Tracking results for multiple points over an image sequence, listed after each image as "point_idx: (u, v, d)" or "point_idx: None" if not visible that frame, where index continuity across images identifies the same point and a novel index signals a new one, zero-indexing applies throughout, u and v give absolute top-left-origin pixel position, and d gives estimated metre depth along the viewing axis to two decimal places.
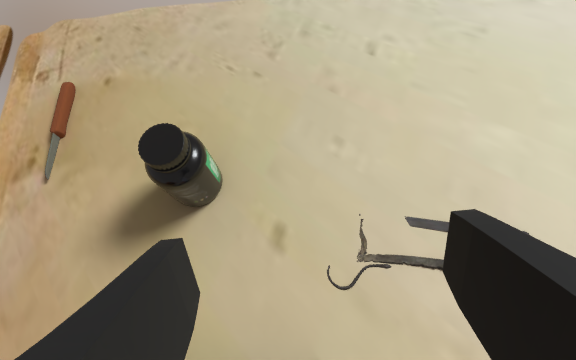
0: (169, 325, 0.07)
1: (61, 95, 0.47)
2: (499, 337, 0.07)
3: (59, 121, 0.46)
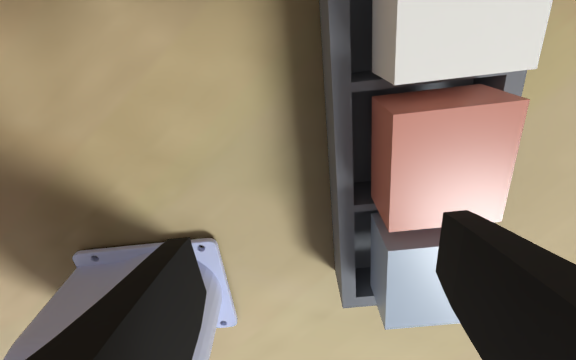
0: (177, 324, 0.07)
1: None
2: (490, 338, 0.07)
3: None
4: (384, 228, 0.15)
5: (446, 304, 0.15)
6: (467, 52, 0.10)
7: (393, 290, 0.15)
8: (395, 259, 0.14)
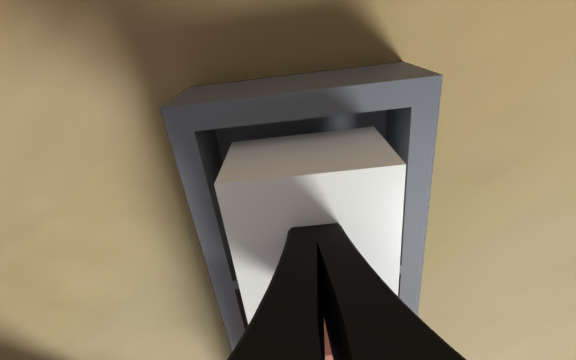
0: (321, 312, 0.07)
1: None
2: (334, 351, 0.07)
3: None
4: None
5: None
6: None
7: None
8: None
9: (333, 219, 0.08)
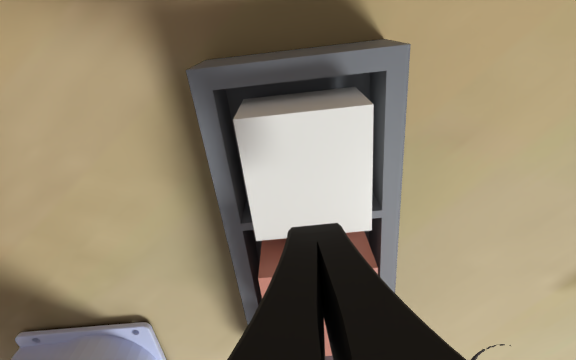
0: (321, 312, 0.07)
1: None
2: (334, 351, 0.07)
3: None
4: None
5: None
6: (311, 220, 0.12)
7: None
8: None
9: (321, 148, 0.11)
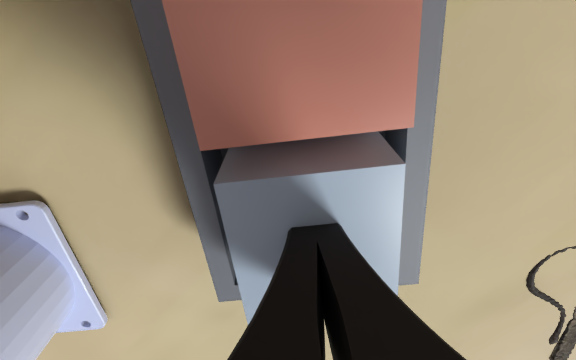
0: (321, 312, 0.07)
1: None
2: (334, 350, 0.07)
3: None
4: (234, 156, 0.09)
5: None
6: None
7: (243, 258, 0.09)
8: (231, 200, 0.08)
9: None
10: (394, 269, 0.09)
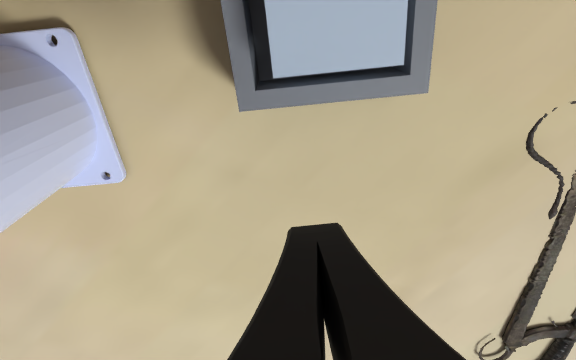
0: (321, 312, 0.07)
1: None
2: (334, 350, 0.07)
3: None
4: None
5: (355, 25, 0.10)
6: None
7: None
8: None
9: None
10: (403, 8, 0.10)
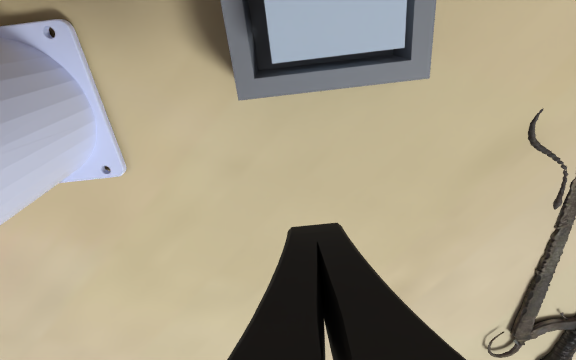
0: (321, 312, 0.07)
1: None
2: (334, 350, 0.07)
3: None
4: None
5: (354, 7, 0.10)
6: None
7: None
8: None
9: None
10: None
